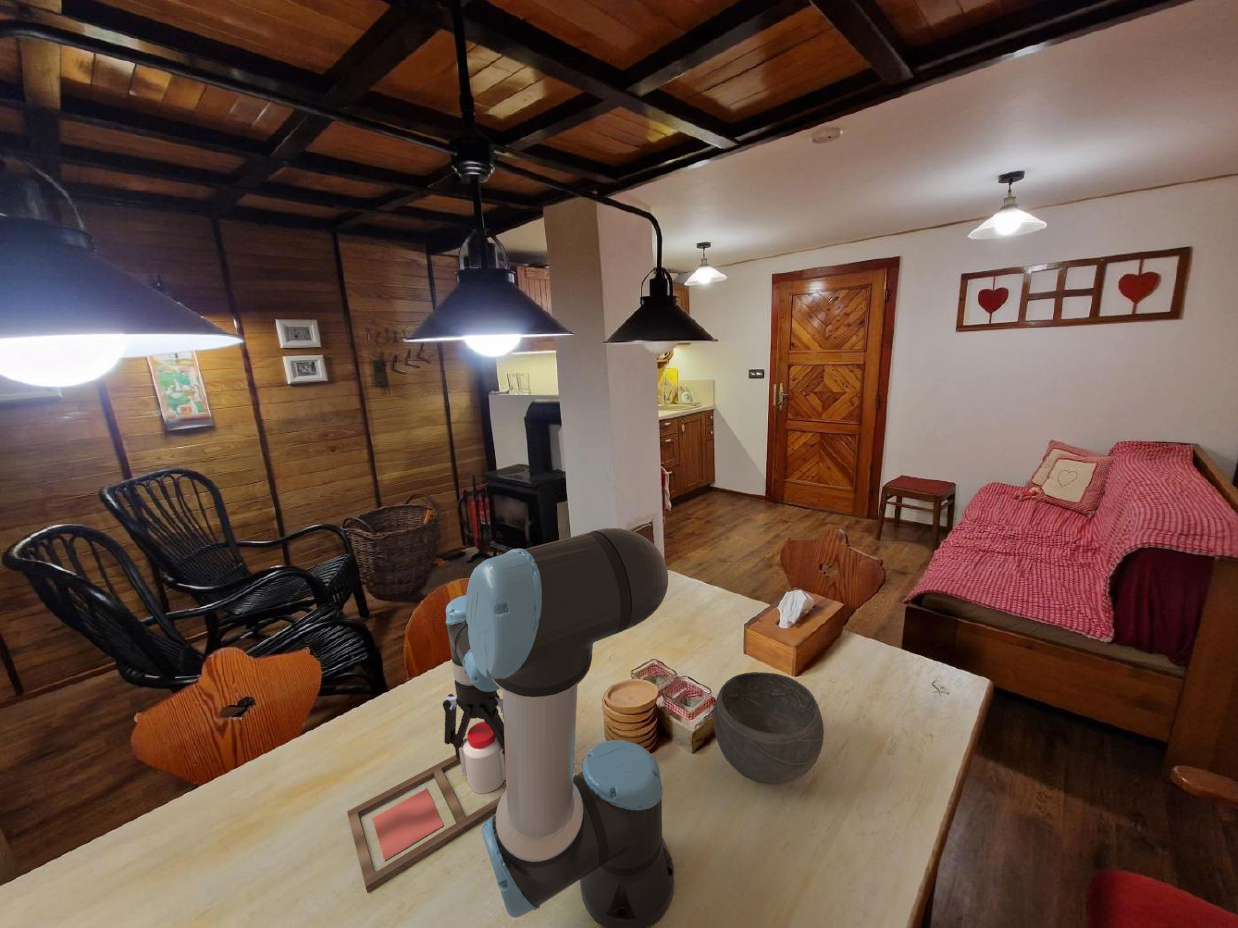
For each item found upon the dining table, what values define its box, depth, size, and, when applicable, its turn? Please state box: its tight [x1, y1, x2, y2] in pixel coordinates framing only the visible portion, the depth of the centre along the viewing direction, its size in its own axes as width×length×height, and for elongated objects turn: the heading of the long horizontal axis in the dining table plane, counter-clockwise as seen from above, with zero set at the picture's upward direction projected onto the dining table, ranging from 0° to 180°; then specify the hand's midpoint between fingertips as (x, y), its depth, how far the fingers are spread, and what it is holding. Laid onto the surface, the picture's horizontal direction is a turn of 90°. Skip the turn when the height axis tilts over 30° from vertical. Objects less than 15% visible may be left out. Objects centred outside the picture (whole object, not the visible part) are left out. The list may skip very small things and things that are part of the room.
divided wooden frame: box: [347, 754, 502, 893], centre depth 95 cm, size 17×32×1 cm, turn 127°
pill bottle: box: [463, 720, 505, 795], centre depth 99 cm, size 8×8×11 cm
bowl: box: [712, 671, 825, 786], centre depth 99 cm, size 21×21×15 cm
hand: (486, 771), depth 100 cm, fingers closed on pill bottle, 8 cm apart
